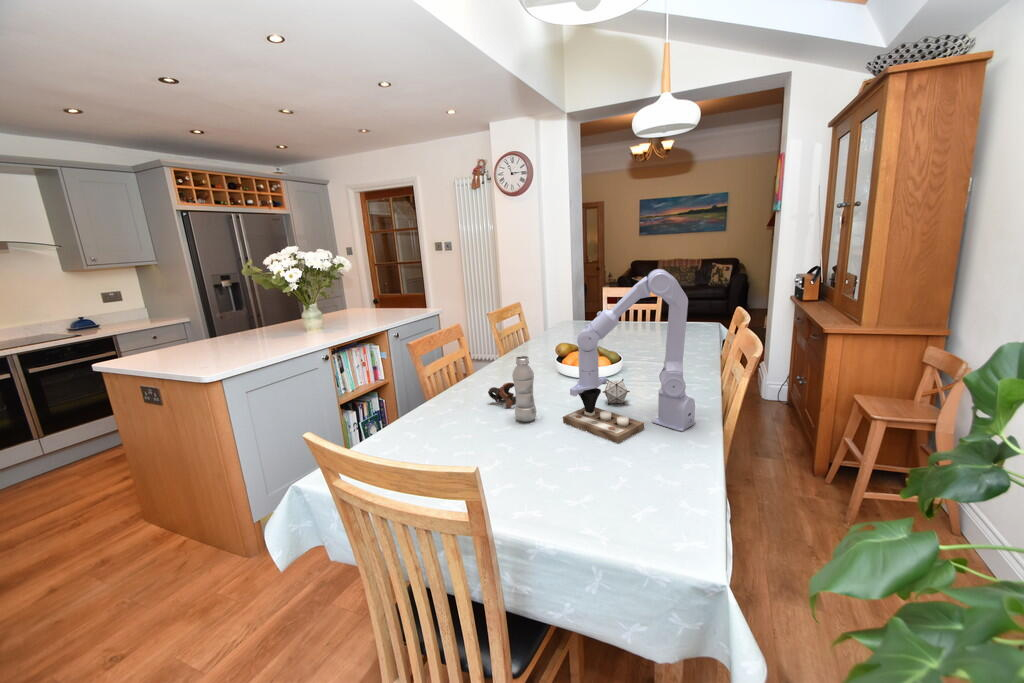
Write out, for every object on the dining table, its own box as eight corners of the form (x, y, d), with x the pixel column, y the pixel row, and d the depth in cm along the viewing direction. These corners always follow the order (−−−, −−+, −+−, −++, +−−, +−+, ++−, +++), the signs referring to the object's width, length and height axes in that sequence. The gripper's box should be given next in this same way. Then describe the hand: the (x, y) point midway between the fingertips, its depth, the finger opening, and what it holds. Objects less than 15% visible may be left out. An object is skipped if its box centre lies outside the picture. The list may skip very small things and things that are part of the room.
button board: (644, 429, 123) (644, 421, 123) (618, 443, 116) (618, 435, 115) (589, 411, 138) (589, 404, 138) (563, 422, 131) (562, 415, 131)
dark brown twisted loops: (520, 398, 155) (525, 382, 150) (519, 418, 148) (524, 402, 143) (487, 392, 154) (491, 375, 149) (484, 412, 147) (488, 396, 142)
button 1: (597, 417, 132) (597, 411, 132) (590, 421, 130) (590, 414, 130) (589, 415, 135) (589, 409, 134) (582, 418, 133) (582, 412, 132)
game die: (619, 416, 143) (621, 399, 135) (596, 403, 147) (597, 386, 139) (633, 396, 147) (635, 379, 139) (610, 384, 151) (612, 367, 143)
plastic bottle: (535, 424, 131) (531, 360, 127) (513, 424, 133) (509, 360, 128) (538, 416, 137) (535, 354, 133) (517, 415, 139) (513, 354, 134)
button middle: (613, 419, 128) (613, 413, 127) (606, 422, 126) (606, 416, 125) (604, 416, 130) (604, 410, 130) (597, 419, 128) (597, 413, 128)
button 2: (630, 425, 123) (630, 418, 123) (624, 428, 121) (624, 422, 121) (621, 422, 125) (621, 415, 125) (614, 425, 123) (614, 418, 123)
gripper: (593, 361, 137) (594, 402, 140) (561, 372, 128) (563, 415, 131) (612, 365, 131) (612, 407, 134) (580, 376, 122) (581, 422, 125)
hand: (589, 412), depth 132 cm, fingers closed, pressing on button 1
